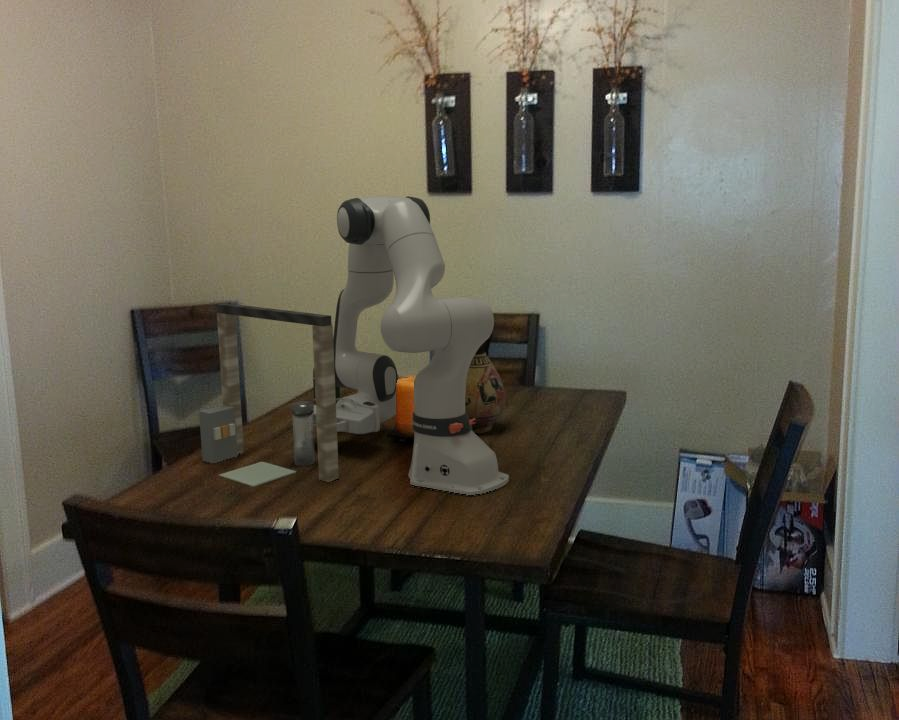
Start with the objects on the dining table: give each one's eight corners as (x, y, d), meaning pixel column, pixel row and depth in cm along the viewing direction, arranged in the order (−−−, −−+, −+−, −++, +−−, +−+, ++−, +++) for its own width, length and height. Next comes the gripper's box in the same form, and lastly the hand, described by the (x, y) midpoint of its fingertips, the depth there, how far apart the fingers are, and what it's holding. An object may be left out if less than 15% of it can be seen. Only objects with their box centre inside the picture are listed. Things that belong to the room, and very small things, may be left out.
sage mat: (296, 472, 198) (296, 471, 198) (253, 486, 189) (253, 485, 189) (262, 462, 205) (262, 461, 205) (219, 475, 196) (218, 474, 196)
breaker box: (239, 457, 210) (236, 408, 208) (214, 464, 205) (211, 414, 202) (227, 453, 213) (224, 405, 211) (202, 460, 208) (199, 411, 205)
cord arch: (338, 479, 193) (332, 315, 186) (328, 483, 191) (321, 317, 184) (236, 450, 215) (226, 303, 208) (225, 453, 213) (216, 304, 206)
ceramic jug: (482, 440, 220) (482, 321, 215) (434, 431, 230) (432, 316, 224) (520, 425, 234) (520, 313, 228) (472, 417, 243) (471, 308, 237)
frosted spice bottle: (320, 462, 205) (318, 403, 203) (303, 467, 201) (301, 407, 199) (305, 458, 209) (303, 400, 206) (288, 463, 205) (285, 404, 202)
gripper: (320, 395, 222) (280, 407, 211) (384, 406, 211) (345, 418, 200) (321, 420, 224) (281, 433, 212) (384, 431, 212) (346, 445, 201)
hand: (313, 426), depth 206 cm, fingers open, 8 cm apart
